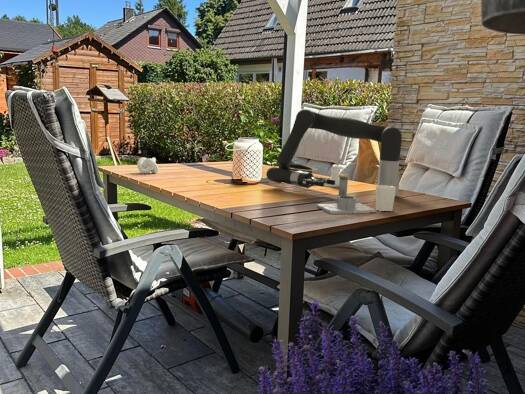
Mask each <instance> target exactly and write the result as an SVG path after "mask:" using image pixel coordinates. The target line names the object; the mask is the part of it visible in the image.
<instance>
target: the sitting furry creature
mask: <svg viewBox="0 0 525 394" xmlns="http://www.w3.org/2000/svg"><path fill="white" fill-rule="evenodd" d="M341 169H342V165H340V166H339V165H338V164H333V165H332V167H331V169H330V171H331V174H330V180H335V185H330V184H324V187H327V186H328V187H329V188H339V181H340V177H339V174H340V173H339V172H340V170H341Z"/></svg>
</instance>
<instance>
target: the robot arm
mask: <svg viewBox="0 0 525 394" xmlns="http://www.w3.org/2000/svg"><path fill="white" fill-rule="evenodd" d="M308 129H314V130H321V131H325V132H328V133H331V134H334V135H337V136H341V137H345V138H348V139H349V138H350V139H358V140H371V141H375V142H378V143H380V154H379V164H378V174H377V175H378V176H377V186H378V185H387V186H394V187H396V190H395V197H398V196H399V187H400V178H401V177H400V176H399V169H400V167H399V166H400V159H401V158H400V157H401V149H402V140H403V136H402V132H401V131H400V129H399V128H397V127H396V126H387V125H386V126H384V125H377V124H372V123H369V122H365V121H363V120H360V119H355V118H351V117H347V116H346V117H345V116H337V115H336V116H335V115H326V114H322V113H317V112H315V111H312V110H311V109H306V108H305V109H301V110H299V111H298V112H297V113H296V116H295V119H294V123H293V127H292V129H291V131H290V133H289V135H288V138H287V140H286V141H285V143H284V145H283V147H282V148H281V150H280V152H279V155H278V156H277V158H276V163H277V162H278V163H279V164H280V165H278V167H275V166H273V167H269V168H268V169H267V171H266V178H268V179H269V180H270V181H269V182H274V183H277V184H282V183H284V184H286V185H291V186H294V187H300V188H305V189H310V188H312V187H322V188H323V187H325V186H324V184H330V185H335V180H330V179H331V177H322V176H319V177H318V176H314V174H313V173H310V172H303V171H292V170H289V166H290V163H291V162H293V159H294V158H295V155H296V153H297V152H298V151H297V150H298V149H299V145H300V144H301V141H302V139H303V137H304V136H305V134H306V133H307V131H308Z"/></svg>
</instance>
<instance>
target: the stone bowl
mask: <svg viewBox="0 0 525 394" xmlns="http://www.w3.org/2000/svg"><path fill="white" fill-rule="evenodd" d="M276 165H277V166H279V165H280V164H279V163H278V162H277V161H276ZM289 170H292V171H303V172H310V173H312V172H313V171H316V172H317V171H318V168H316V167H313V166H311V165H306V164H299V163H295V162H294V161H291V163H290V166H289ZM312 174H313V173H312Z"/></svg>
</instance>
